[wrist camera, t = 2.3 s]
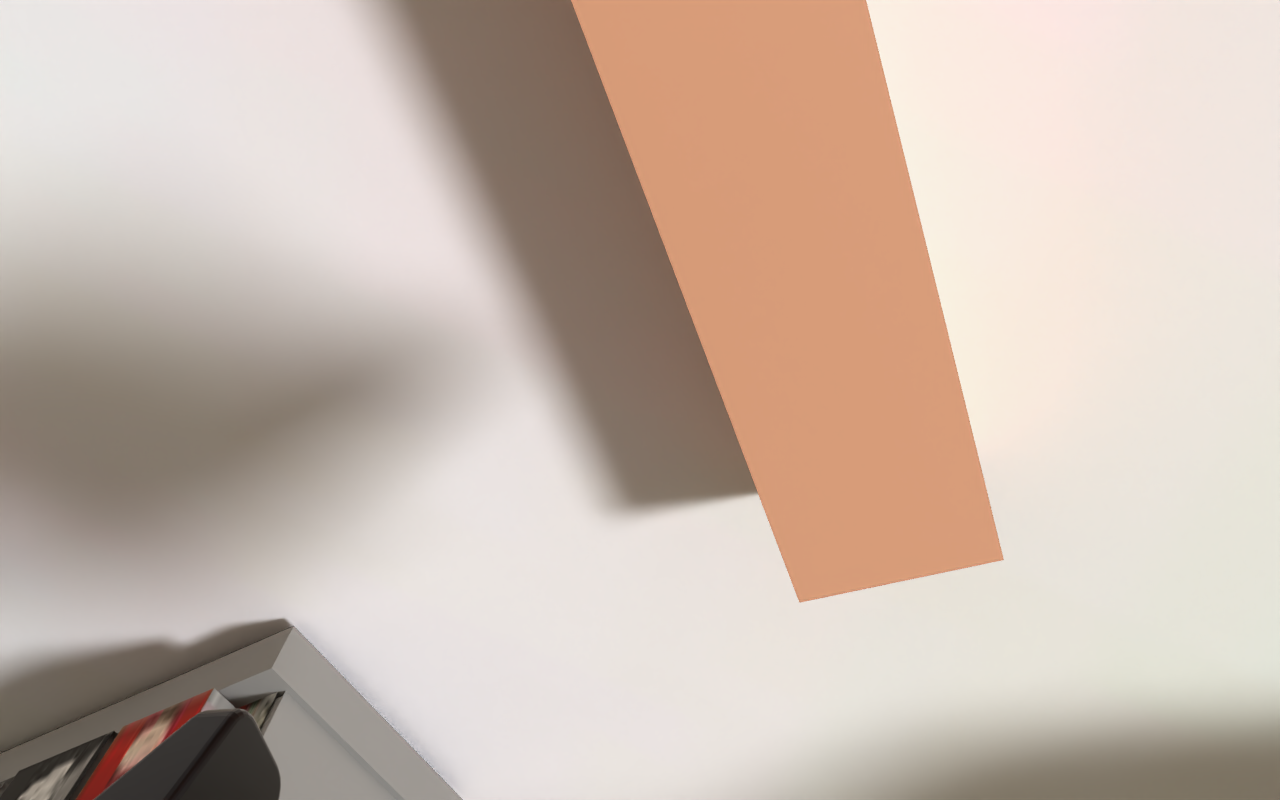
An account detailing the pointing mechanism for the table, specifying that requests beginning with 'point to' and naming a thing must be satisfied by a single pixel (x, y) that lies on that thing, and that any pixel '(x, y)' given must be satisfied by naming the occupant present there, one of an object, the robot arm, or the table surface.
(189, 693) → the cassette tape recorder
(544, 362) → the table surface
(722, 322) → the salmon orange bar
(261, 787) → the robot arm
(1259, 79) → the table surface
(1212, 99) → the table surface
